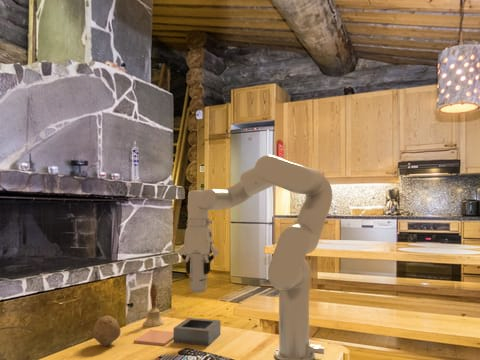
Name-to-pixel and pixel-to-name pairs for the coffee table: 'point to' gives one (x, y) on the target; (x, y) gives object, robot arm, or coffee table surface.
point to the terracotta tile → (155, 337)
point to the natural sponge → (106, 330)
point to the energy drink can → (197, 272)
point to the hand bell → (153, 311)
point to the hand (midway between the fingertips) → (198, 272)
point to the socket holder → (197, 331)
